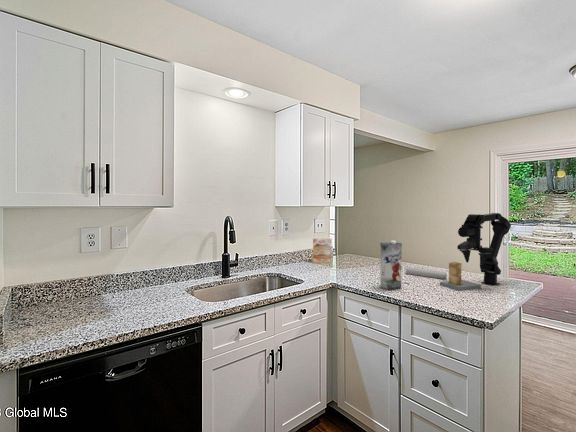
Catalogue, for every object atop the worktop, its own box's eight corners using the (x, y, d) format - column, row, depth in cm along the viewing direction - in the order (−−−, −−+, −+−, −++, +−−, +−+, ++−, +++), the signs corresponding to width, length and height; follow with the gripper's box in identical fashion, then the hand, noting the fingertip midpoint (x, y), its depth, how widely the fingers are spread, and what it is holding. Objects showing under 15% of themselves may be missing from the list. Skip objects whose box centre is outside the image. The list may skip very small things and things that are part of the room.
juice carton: (378, 287, 175) (378, 240, 174) (392, 285, 179) (392, 239, 179) (388, 291, 167) (389, 241, 166) (403, 288, 171) (404, 240, 170)
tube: (448, 272, 195) (408, 267, 211) (446, 271, 191) (406, 265, 208) (447, 281, 194) (407, 274, 210) (445, 279, 190) (404, 273, 207)
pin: (454, 286, 176) (455, 261, 176) (461, 287, 172) (461, 263, 172) (448, 286, 175) (448, 262, 175) (455, 288, 171) (455, 263, 170)
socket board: (461, 282, 183) (461, 279, 183) (480, 288, 171) (480, 284, 171) (439, 285, 179) (439, 281, 179) (458, 290, 166) (458, 287, 166)
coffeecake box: (313, 262, 252) (312, 239, 251) (313, 261, 259) (313, 238, 258) (331, 263, 249) (331, 239, 249) (331, 261, 256) (331, 238, 256)
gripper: (450, 235, 180) (449, 261, 181) (477, 238, 163) (477, 267, 163) (465, 234, 184) (464, 260, 184) (494, 237, 166) (493, 266, 166)
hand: (474, 263), depth 174 cm, fingers open, 9 cm apart
